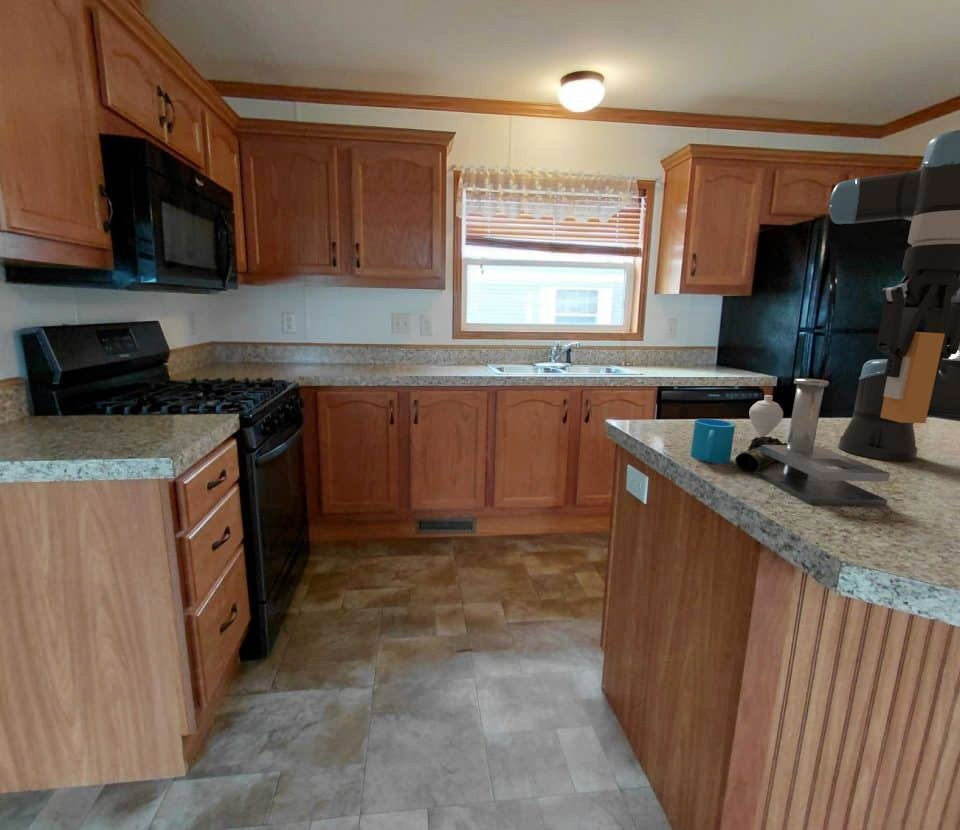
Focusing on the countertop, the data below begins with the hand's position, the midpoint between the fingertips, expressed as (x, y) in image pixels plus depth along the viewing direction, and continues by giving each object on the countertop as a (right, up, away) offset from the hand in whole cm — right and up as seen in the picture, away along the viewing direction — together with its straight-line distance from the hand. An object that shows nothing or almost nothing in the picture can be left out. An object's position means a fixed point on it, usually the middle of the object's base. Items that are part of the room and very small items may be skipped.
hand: (906, 397), depth 81 cm
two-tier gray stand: (-5, -17, +14) cm, 23 cm away
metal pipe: (-7, -14, +30) cm, 34 cm away
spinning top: (+5, -10, +51) cm, 52 cm away
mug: (-17, -13, +31) cm, 38 cm away
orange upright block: (0, -4, +1) cm, 4 cm away
